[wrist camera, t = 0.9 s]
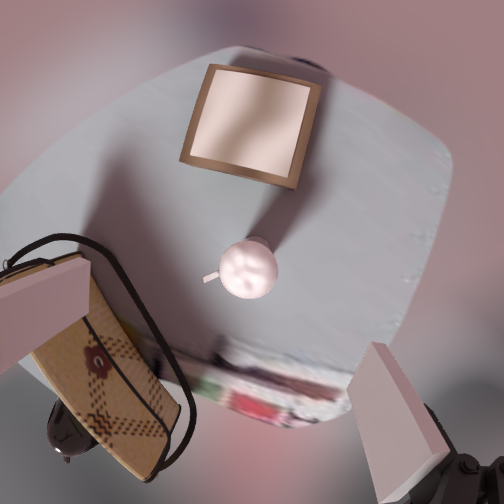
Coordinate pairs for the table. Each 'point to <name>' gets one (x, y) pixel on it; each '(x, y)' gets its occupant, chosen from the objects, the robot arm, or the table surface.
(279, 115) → the dock
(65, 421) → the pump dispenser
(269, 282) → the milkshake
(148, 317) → the clutch purse
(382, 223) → the table surface
